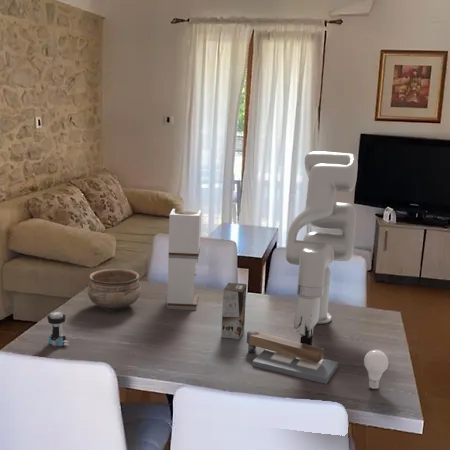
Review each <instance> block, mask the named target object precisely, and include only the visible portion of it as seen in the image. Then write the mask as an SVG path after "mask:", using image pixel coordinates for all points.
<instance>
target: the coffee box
mask: <svg viewBox="0 0 450 450" xmlns="http://www.w3.org/2000/svg"><path fill="white" fill-rule="evenodd" d="M246 298H247V284H246V283H239V282H238V283H236V282H235V283H234V282H228V283H227V284H226V286H225V288H224V289H223V294H222V311H221V312H222V314H221V335H220V337H221V338H225V339H235V340H240V339H241V337H242V335H243V333H244V331H245V321H246V320H245V319H246V301H247V299H246Z"/></svg>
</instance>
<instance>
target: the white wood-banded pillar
mask: <svg viewBox="0 0 450 450" xmlns="http://www.w3.org/2000/svg"><path fill="white" fill-rule="evenodd" d="M168 215H169V219H168V222H169V223H168V224H169V225H168V227H169V228H168V256H167V257H168V261H167V262H168V264H167V265H168V267H167V269H168V270H167V305H166V307H167V309H171V310H173V309H174V310H189V311H190V310H191V311H197V308H198V303H199V294H198V293H197V294H196V293H195V276H196V275H197V264H198V263H199V261H200V255H201V233H202V232H201V231H202V210H201V209H199V210H198V212H197V213H195V214H181V213H176V208H172V210H171V211H170V213H169V214H168Z"/></svg>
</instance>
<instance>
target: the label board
mask: <svg viewBox="0 0 450 450" xmlns="http://www.w3.org/2000/svg"><path fill="white" fill-rule="evenodd" d="M338 365H339V362H338V361H333V360H329V359H326V358H325V359H324V358H322V359H321V360H320V361H319V362H318V363H315V362H311V361H308V360H304V359H300V358H297V357H293V356H289V355H286V354H282V353H278V352H275V351H271V350H267V349H263V350H262V351H261V352H260V353H259V354H258V355H257V357H255V358H254V359H253V360H252V366H253V367H255V368H256V367H257V368H260V369H265V370H268V371H272V372H276V373H280V374H285V375H288V376H293V377H297V378H301V379H305V380H309V381H313V382H317V383H320V384H325V385H327V384H328V383H329V381H330V380H331V378H332V376H333V375H334V373H335V372H336V370H337V369H338Z"/></svg>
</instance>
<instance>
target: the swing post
mask: <svg viewBox="0 0 450 450" xmlns="http://www.w3.org/2000/svg"><path fill="white" fill-rule="evenodd" d="M247 348H248V349H247V352H248V353H249V354H255V353H257V347H256V346H253V345H249V344H248V343H247Z"/></svg>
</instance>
